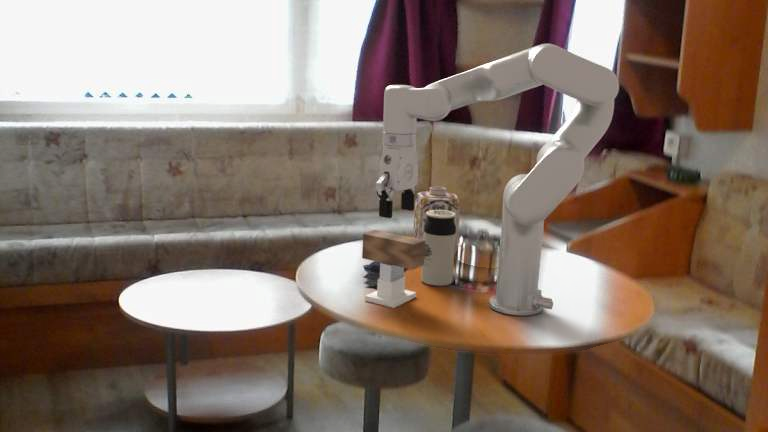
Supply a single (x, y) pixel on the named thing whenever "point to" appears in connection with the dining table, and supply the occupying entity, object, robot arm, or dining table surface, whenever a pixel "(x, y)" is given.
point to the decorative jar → (434, 201)
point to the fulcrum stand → (390, 287)
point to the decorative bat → (372, 273)
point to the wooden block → (393, 249)
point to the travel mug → (439, 248)
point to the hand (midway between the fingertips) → (396, 213)
